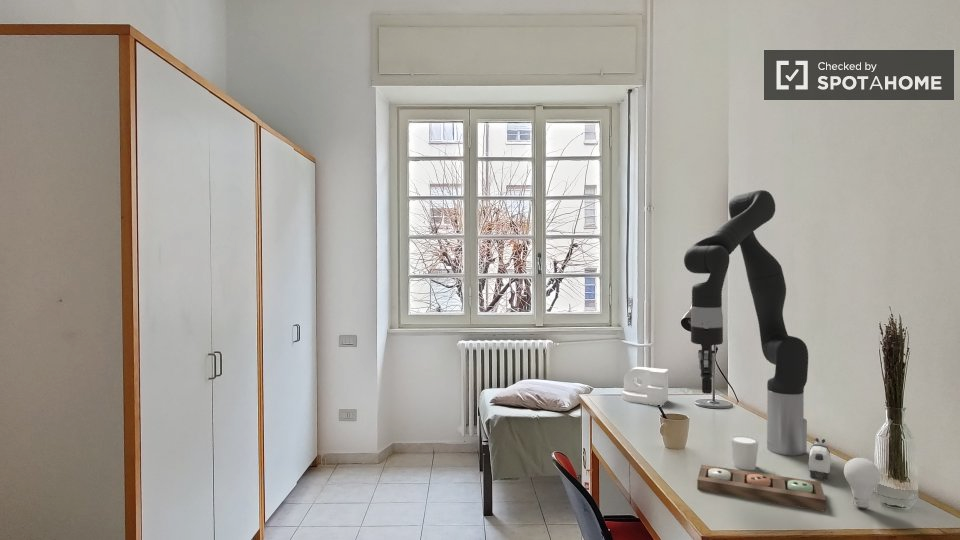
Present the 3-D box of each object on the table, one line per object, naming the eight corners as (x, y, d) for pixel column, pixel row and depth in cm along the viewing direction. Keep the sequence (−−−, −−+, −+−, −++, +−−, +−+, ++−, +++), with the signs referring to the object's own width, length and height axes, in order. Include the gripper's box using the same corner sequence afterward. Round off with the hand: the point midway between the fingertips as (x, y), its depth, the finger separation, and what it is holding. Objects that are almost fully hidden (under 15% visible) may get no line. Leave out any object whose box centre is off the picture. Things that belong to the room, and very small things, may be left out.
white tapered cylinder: (746, 472, 145) (747, 445, 145) (724, 464, 151) (724, 438, 151) (764, 468, 148) (764, 441, 148) (741, 459, 154) (741, 434, 154)
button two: (811, 491, 130) (811, 481, 130) (813, 500, 126) (813, 489, 126) (786, 487, 132) (787, 477, 132) (788, 495, 128) (788, 485, 128)
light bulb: (836, 502, 127) (836, 453, 126) (864, 501, 127) (864, 452, 127) (858, 515, 120) (859, 464, 120) (887, 514, 121) (888, 463, 120)
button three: (770, 485, 134) (770, 475, 134) (770, 493, 129) (770, 482, 129) (746, 481, 136) (746, 471, 136) (746, 489, 132) (746, 479, 132)
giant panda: (830, 482, 138) (830, 449, 138) (808, 478, 141) (808, 446, 140) (830, 467, 148) (831, 436, 148) (810, 463, 151) (810, 433, 151)
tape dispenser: (668, 401, 218) (668, 369, 218) (661, 407, 209) (662, 374, 209) (627, 396, 226) (627, 365, 226) (619, 402, 217) (619, 369, 217)
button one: (731, 479, 138) (731, 469, 138) (730, 486, 133) (730, 476, 133) (709, 475, 140) (709, 466, 140) (707, 483, 135) (707, 473, 135)
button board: (820, 492, 132) (820, 482, 132) (825, 511, 122) (825, 499, 122) (701, 474, 143) (701, 464, 143) (697, 490, 134) (697, 479, 133)
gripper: (692, 321, 150) (692, 386, 151) (689, 326, 138) (689, 397, 138) (723, 322, 147) (723, 388, 148) (722, 328, 135) (722, 400, 135)
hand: (706, 392), depth 143 cm, fingers closed
